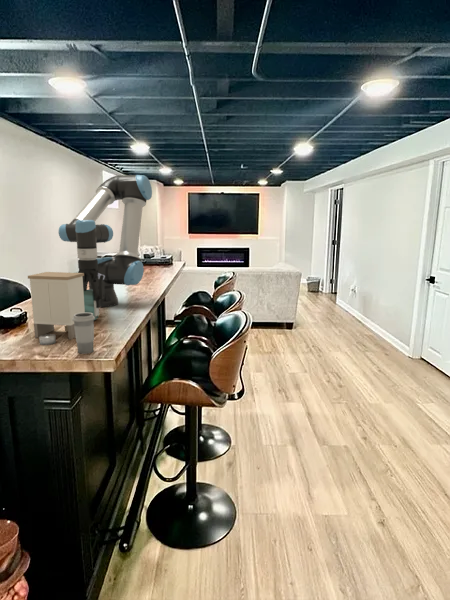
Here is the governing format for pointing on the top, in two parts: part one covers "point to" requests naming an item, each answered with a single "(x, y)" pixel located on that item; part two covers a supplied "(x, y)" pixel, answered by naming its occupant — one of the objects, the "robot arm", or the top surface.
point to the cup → (84, 331)
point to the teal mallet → (88, 303)
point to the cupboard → (56, 300)
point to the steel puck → (47, 339)
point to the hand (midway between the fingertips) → (91, 315)
